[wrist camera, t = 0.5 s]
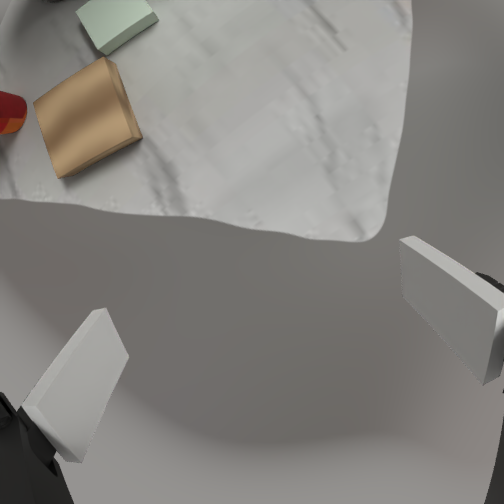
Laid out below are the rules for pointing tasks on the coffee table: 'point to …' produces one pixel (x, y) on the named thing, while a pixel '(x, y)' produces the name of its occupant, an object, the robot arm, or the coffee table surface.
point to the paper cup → (11, 112)
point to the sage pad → (115, 21)
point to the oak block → (86, 118)
